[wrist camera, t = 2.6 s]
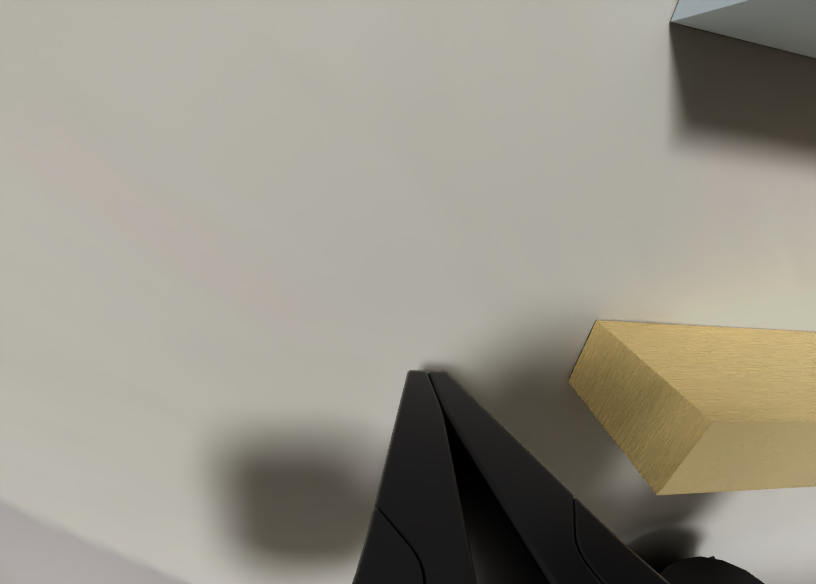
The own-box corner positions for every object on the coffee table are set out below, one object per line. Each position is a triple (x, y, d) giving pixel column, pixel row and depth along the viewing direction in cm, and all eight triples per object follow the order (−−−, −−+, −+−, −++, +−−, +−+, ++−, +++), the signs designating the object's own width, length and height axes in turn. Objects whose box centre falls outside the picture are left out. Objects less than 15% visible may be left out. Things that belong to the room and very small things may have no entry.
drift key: (863, 334, 11) (1052, 418, 8) (817, 385, 12) (971, 477, 9) (596, 320, 9) (713, 422, 6) (568, 381, 10) (657, 495, 7)
